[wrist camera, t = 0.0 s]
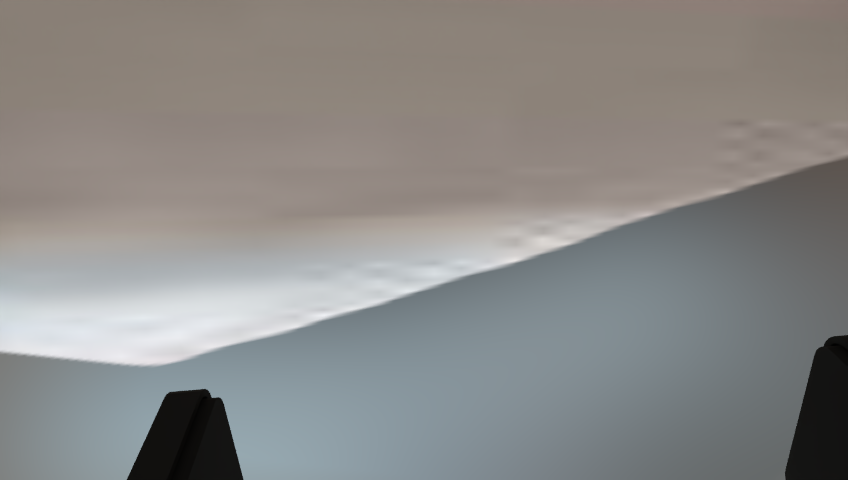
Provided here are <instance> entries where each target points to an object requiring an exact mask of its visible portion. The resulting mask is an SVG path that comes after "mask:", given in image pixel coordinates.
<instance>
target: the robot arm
mask: <svg viewBox="0 0 848 480" xmlns="http://www.w3.org/2000/svg"><path fill="white" fill-rule="evenodd" d="M785 477H786V480H848V335H844V336H834V337H831V338H829V339H828V340H827V341H826V342H825V344H824V346H823V347H820V348H818V349H817V350H816V353H815V356H814V359H813V363H812V367H811V371H810V375H809V379H808V383H807V387H806V391H805V395H804V399H803V403H802V407H801V411H800V415H799V419H798V423H797V426H796V431H795V435H794V439H793V442H792V446H791V450H790V454H789V458H788V462H787V466H786V471H785ZM127 480H243V476H242V473H241V469H240V465H239V461H238V457H237V454H236V449H235V446H234V442H233V438H232V434H231V430H230V426H229V422H228V419H227V415H226V411H225V407H224V404H223V401H222V399H221V398H212V397H211V395H210V393H209V391H208V390H206V389H201V390H189V391H177V392H169V393H168V394H167V395H166V396H165V398H164V400H163V402H162V404H161V406H160V409H159V411H158V413H157V415H156V417H155V420H154V422H153V424H152V426H151V428H150V430H149V433H148V435H147V437H146V439H145V441H144V443H143V446H142V448H141V450H140V452H139V454H138V457H137V459H136V461H135V463H134V465H133V468H132V470H131V472H130V474H129V476H128V479H127Z"/></svg>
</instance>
